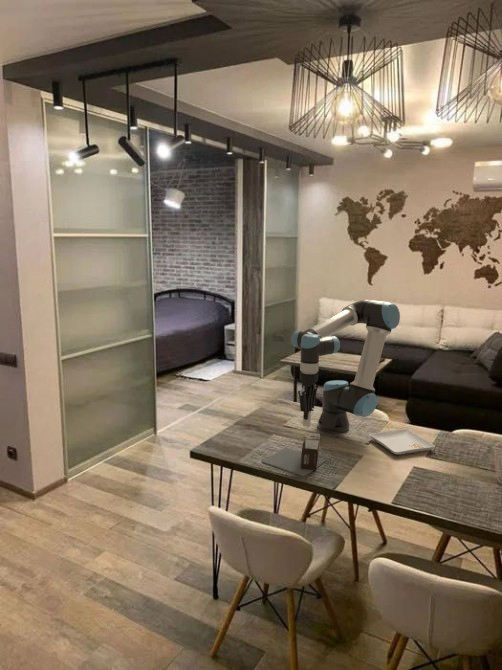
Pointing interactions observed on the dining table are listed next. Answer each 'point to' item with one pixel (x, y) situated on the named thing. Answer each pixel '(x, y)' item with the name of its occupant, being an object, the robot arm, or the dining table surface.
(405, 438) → the salad plate
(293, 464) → the mat
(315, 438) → the coffee box
